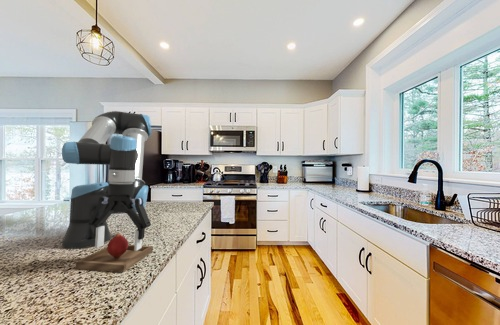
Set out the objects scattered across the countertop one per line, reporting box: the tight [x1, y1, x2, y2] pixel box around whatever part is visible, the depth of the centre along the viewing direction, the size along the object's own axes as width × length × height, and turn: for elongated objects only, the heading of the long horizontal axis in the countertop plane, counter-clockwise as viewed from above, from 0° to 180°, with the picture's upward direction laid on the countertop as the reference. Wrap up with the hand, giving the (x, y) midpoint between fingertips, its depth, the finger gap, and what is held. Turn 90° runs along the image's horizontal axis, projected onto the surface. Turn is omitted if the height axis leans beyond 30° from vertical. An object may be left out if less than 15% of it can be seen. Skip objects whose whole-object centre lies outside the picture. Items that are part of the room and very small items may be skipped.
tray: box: [75, 244, 154, 273], centre depth 68 cm, size 15×15×2 cm
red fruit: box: [106, 232, 129, 258], centre depth 68 cm, size 6×6×8 cm
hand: (118, 248), depth 68 cm, fingers open, 13 cm apart
